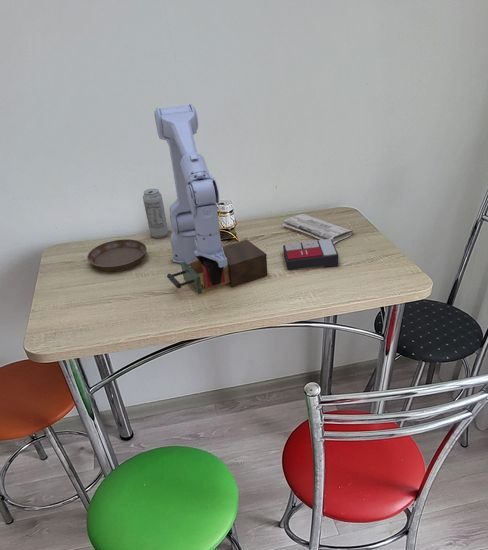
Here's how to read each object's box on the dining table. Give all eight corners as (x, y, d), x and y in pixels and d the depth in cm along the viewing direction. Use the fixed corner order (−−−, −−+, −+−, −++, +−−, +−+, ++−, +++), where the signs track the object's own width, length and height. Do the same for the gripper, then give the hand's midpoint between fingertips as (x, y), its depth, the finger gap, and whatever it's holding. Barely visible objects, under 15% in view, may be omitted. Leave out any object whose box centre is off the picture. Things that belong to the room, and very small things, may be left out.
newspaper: (279, 227, 165) (279, 219, 164) (304, 220, 172) (305, 213, 171) (329, 246, 151) (330, 238, 150) (354, 237, 158) (355, 230, 157)
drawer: (180, 300, 128) (177, 283, 125) (166, 284, 135) (163, 267, 132) (232, 283, 134) (231, 266, 131) (216, 269, 141) (214, 252, 138)
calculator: (282, 242, 147) (331, 236, 147) (283, 255, 150) (331, 249, 150) (286, 259, 138) (338, 252, 138) (287, 272, 141) (338, 266, 141)
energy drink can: (171, 232, 165) (163, 188, 156) (164, 239, 161) (156, 195, 152) (155, 231, 167) (146, 187, 157) (147, 238, 162) (138, 194, 153)
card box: (208, 287, 122) (205, 267, 119) (204, 284, 123) (201, 264, 120) (225, 282, 124) (222, 262, 120) (221, 278, 125) (219, 259, 122)
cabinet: (232, 287, 134) (230, 265, 130) (214, 271, 142) (211, 249, 138) (267, 275, 138) (266, 253, 134) (248, 260, 146) (246, 239, 142)
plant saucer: (130, 277, 141) (128, 268, 139) (78, 271, 145) (75, 262, 143) (158, 250, 154) (156, 241, 152) (109, 245, 158) (106, 237, 157)
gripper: (180, 225, 118) (188, 274, 127) (205, 246, 108) (212, 298, 117) (206, 218, 121) (212, 267, 130) (233, 238, 111) (238, 289, 119)
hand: (214, 281), depth 123 cm, fingers closed on card box, 2 cm apart
